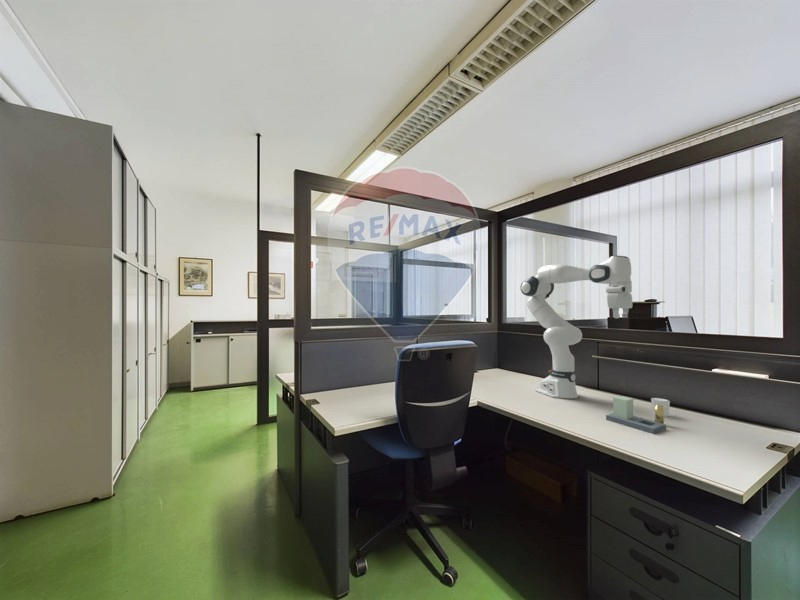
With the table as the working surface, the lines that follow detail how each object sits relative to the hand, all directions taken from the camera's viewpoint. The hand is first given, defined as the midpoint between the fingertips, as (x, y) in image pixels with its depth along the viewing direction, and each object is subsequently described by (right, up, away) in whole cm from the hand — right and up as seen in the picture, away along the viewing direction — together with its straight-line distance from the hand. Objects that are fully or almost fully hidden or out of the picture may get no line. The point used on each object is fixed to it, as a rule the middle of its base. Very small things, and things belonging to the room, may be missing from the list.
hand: (620, 318), depth 154 cm
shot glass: (+15, -45, -4) cm, 48 cm away
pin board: (-5, -44, -17) cm, 48 cm away
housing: (-8, -42, -12) cm, 45 cm away
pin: (+5, -44, -17) cm, 48 cm away
